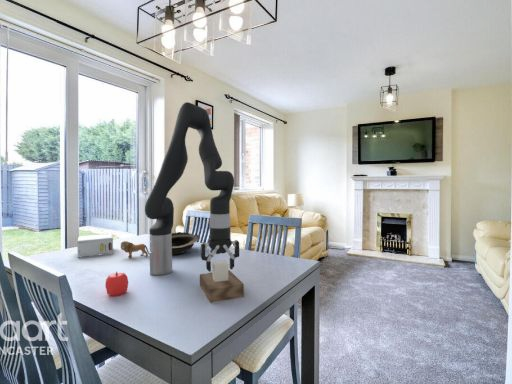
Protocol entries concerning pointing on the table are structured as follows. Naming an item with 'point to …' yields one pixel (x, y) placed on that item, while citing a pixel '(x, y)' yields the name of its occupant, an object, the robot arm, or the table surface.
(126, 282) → the apple
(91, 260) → the table surface
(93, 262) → the table surface
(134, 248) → the lion figurine
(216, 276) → the cream block
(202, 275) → the walnut plinth
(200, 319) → the table surface
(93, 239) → the supplement box
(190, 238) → the dark brown round bowl
